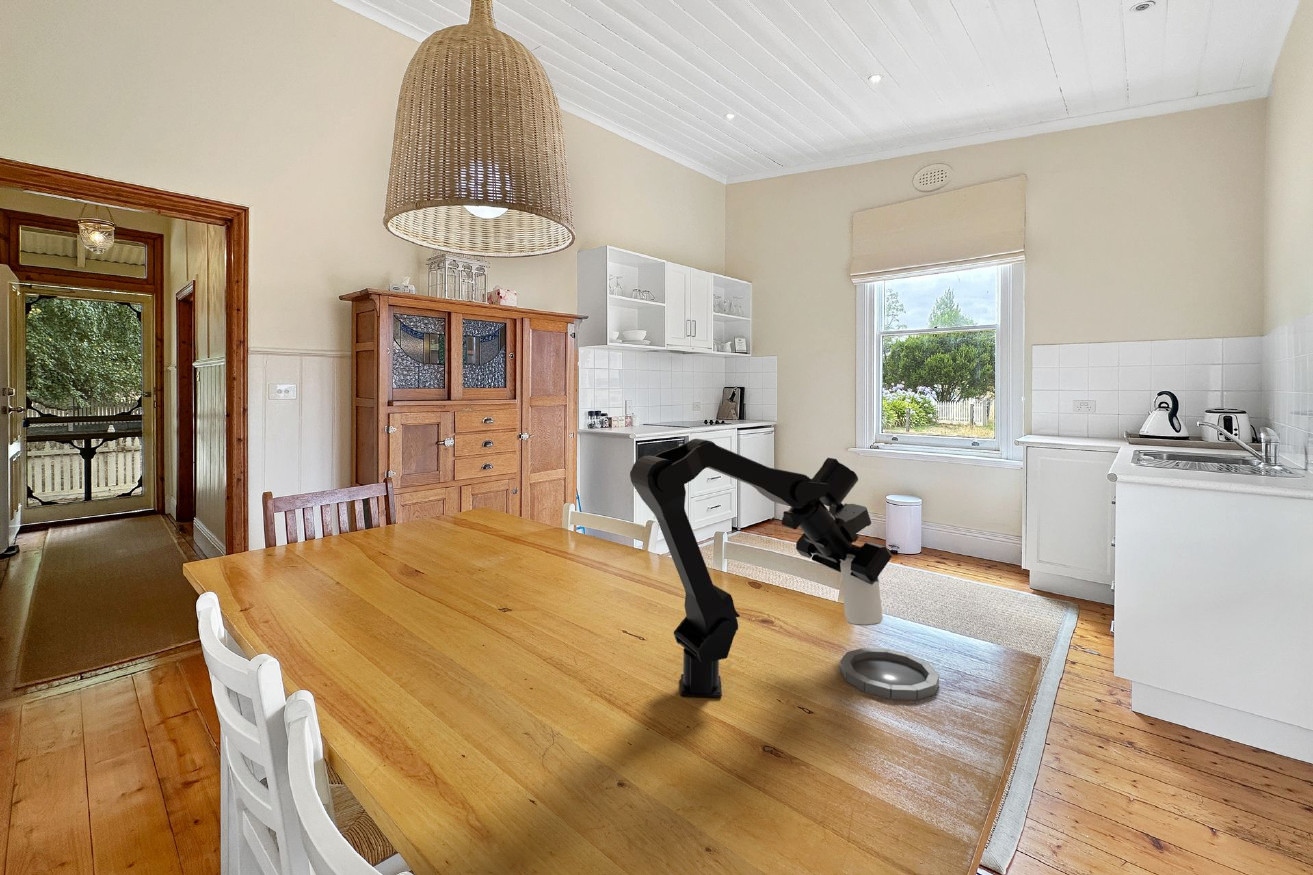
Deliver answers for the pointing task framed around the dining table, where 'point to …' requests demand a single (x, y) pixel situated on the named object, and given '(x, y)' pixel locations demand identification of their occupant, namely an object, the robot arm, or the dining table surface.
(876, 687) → the round gray tray
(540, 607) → the dining table surface
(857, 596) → the can
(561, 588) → the dining table surface
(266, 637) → the dining table surface
